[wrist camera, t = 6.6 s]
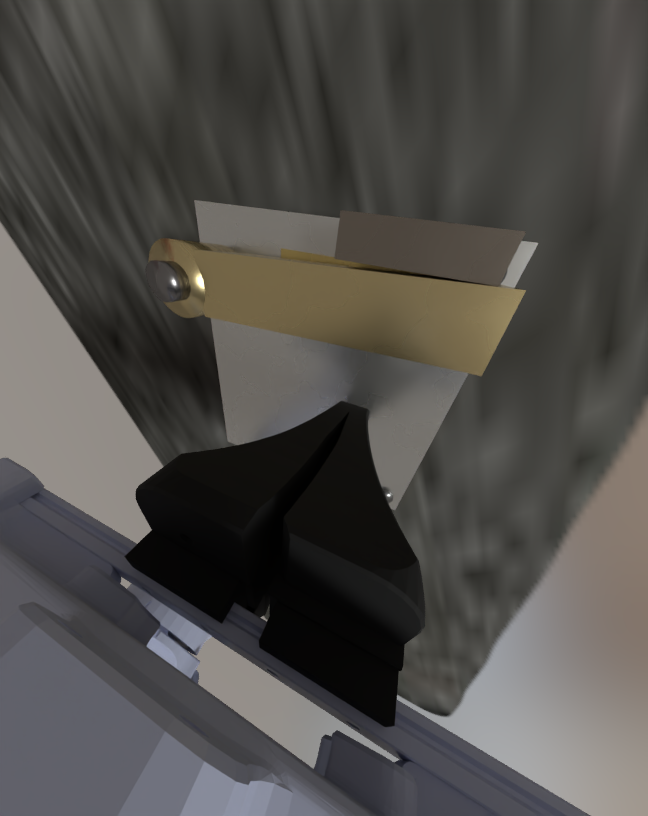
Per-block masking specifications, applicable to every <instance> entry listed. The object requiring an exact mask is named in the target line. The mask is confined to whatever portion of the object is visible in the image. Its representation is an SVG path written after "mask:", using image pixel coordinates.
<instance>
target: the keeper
mask: <svg viewBox="0 0 648 816" xmlns="http://www.w3.org/2000/svg"><path fill="white" fill-rule="evenodd" d="M525 233H526V232H524V231H516V230H507V229H498V228H490V227H481V226H473V225H464V224H455V223H447V222H438V221H429V220H421V219H412V218H403V217H395V216H386V215H378V214H369V213H360V212H352V211H343V210H341V212H340V220H339V227H338V235H337V242H336V250H335V257H331V256H325V255H319V254H313V253H307V252H301V251H295V250H289V249H283V248H281V258H288V259H296V260H304V261H312V262H321V263H329V264H337V265H346V266H354V267H362V268H370V269H379V270H387V271H395V272H404V273H412V274H420V275H428V276H437V277H445V278H451V279H457V280H462V281H468V282H474V283H480V284H486V285H492V286H498V287H499V285H500V283H501V281H502V279H503V277H504V275H505V273H506V271H507V269H508V267H509V265H510V263H511V261H512V259H513V257H514V255H515V253H516V251H517V249H518V247H519V245H520V243H521V241H522V239H523V237H524V235H525Z"/></svg>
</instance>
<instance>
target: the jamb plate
mask: <svg viewBox="0 0 648 816" xmlns="http://www.w3.org/2000/svg"><path fill="white" fill-rule="evenodd" d="M194 202H195V209H196V216H197V223H198V230H199V237H200V242H203V243H212V244H221V245H225V246H228V247H229V248H231V249H232V250H233V251H235V252H236V253H246V254H255V255H263V256H271V257H279V258H281V248H283V249H289V250H295V251H301V252H307V253H313V254H319V255H325V256H331V257H335V250H336V242H337V235H338V227H339V220H340V218H333V217H325V216H317V215H309V214H301V213H293V212H285V211H277V210H269V209H261V208H253V207H245V206H237V205H229V204H221V203H213V202H205V201H197V200H194ZM537 245H538V243H534V242H526V241H521V243H520V245H519V247H518V249H517V251H516V253H515V255H514V257H513V259H512V261H511V263H510V265H509V267H508V269H507V271H506V273H505V275H504V277H503V279H502V281H501V283H500V284H501V285H505V286H509V287H513V288H514V287H515V286H516V284H517V282H518V280H519V278H520V276H521V274H522V273H523V271H524V269H525V267H526V265H527V263H528V261H529V259H530V258H531V256H532V254H533V252H534V250H535V248H536V246H537ZM211 324H212V331H213V338H214V345H215V353H216V360H217V367H218V374H219V381H220V388H221V396H222V403H223V410H224V417H225V424H226V432H227V439H228V442H231V443H233V444H236V445H241V444H245V443H249V442H253V441H256V440H260V439H263V438H267V437H270V436H273V435H276V434H279V433H282V432H284V431H287V430H289V429H292V428H294V427H296V426H298V425H300V424H302V423H304V422H306V421H308V420H310V419H312V418H314V417H315V416H317V415H319V414H321V413H322V412H324V411H326V410H327V409H329V408H331V407H332V406H334V405H335V404H337V403H338V402H340V401H344V402H348V403H351V404H354V405H357V406H360V407H363V408H367V409H368V410H369V411H370V413H369V417H368V432H369V441H370V447H371V452H372V457H373V461H374V465H375V468H376V472H377V475H378V478H379V481H380V484H381V487H382V489H383V491H384V494H385V496H386V499H387V501H388V503H389V506H390V508H391V509H394V510H395V509H396V507H397V505H398V504H399V502H400V500H401V498H402V496H403V494H404V492H405V491H406V489H407V487H408V485H409V483H410V481H411V479H412V478H413V476H414V474H415V472H416V470H417V468H418V466H419V464H420V463H421V461H422V459H423V457H424V455H425V453H426V451H427V450H428V448H429V446H430V444H431V442H432V440H433V438H434V437H435V435H436V433H437V431H438V429H439V427H440V425H441V423H442V422H443V420H444V418H445V416H446V414H447V412H448V410H449V409H450V407H451V405H452V403H453V401H454V399H455V397H456V396H457V394H458V392H459V390H460V388H461V386H462V384H463V382H464V381H465V379H466V377H467V375H468V373H465V372H460V371H456V370H451V369H446V368H442V367H437V366H433V365H428V364H423V363H419V362H414V361H409V360H405V359H400V358H395V357H391V356H386V355H381V354H377V353H372V352H367V351H363V350H358V349H353V348H349V347H344V346H339V345H335V344H330V343H325V342H321V341H316V340H312V339H307V338H302V337H298V336H293V335H288V334H284V333H279V332H274V331H270V330H265V329H260V328H256V327H251V326H246V325H242V324H237V323H232V322H228V321H223V320H218V319H214V318H211Z"/></svg>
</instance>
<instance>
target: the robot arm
mask: <svg viewBox="0 0 648 816" xmlns="http://www.w3.org/2000/svg"><path fill="white" fill-rule="evenodd" d="M369 413H370V411H369V410H368V409H367V408H363V407H360V406H357V405H354V404H351V403H348V402H344V401H340V402H338V403H337V404H335V405H334V406H332V407H331V408H329V409H327V410H326V411H324V412H322V413H321V414H319V415H317V416H315V417H314V418H312V419H310V420H308V421H306V422H304V423H302V424H300V425H298V426H296V427H294V428H292V429H289V430H287V431H284V432H282V433H279V434H276V435H273V436H270V437H267V438H263V439H260V440H256V441H253V442H249V443H245V444H241V445H236V446H231V447H226V448H221V449H214V450H207V451H200V452H192V453H184V454H181V455H179V456H178V457H176V458H175V459H174V460H172V461H171V462H170V463H168V464H167V465H166V466H164V467H163V468H162V469H160V470H159V471H158V472H156V473H155V474H154V475H152V476H151V477H150V478H148V479H147V480H146V481H145V482H143V483H142V484H140V485H139V486H138V488H137V489H136V500H137V503H138V505H139V507H140V509H141V511H142V513H143V514H144V516H145V518H146V520H147V522H148V523H149V525H150V527H151V529H152V531H151V532H150V533H149V534H147V535H146V536H145V537H144V538H143V539H142V540H141V541H140V542H139V543H138V544H136V543H135V542H133V541H131V540H130V539H128V538H126V537H124V536H123V535H121V534H120V533H118V532H116V531H115V530H113V529H111V528H110V527H108V526H106V525H105V524H103V523H101V522H100V521H98V520H96V519H94V518H93V517H91V516H89V515H88V514H86V513H84V512H83V511H81V510H80V509H78V508H76V507H75V506H73V505H71V504H70V503H68V502H66V501H65V500H63V499H61V498H59V497H58V496H56V495H54V494H53V493H51V492H50V491H48V490H46V489H44V485H43V484H42V483H41V482H40V481H39V480H38V478H36V476H35V475H34V474H32V473H31V472H30V471H29V470H27V469H26V468H24V467H22V466H20V465H19V464H17V463H15V462H14V461H12V460H10V459H9V458H2V459H0V816H590V815H588V814H587V813H585V812H583V811H582V810H580V809H578V808H577V807H575V806H573V805H572V804H570V803H568V802H567V801H565V800H563V799H562V798H560V797H558V796H556V795H555V794H553V793H551V792H550V791H548V790H547V789H545V788H543V787H542V786H540V785H538V784H537V783H535V782H533V781H532V780H530V779H528V778H526V777H525V776H523V775H522V774H520V773H518V772H517V771H515V770H513V769H512V768H510V767H508V766H507V765H505V764H503V763H502V762H500V761H498V760H497V759H495V758H493V757H491V756H490V755H488V754H487V753H485V752H483V751H482V750H480V749H478V748H476V747H475V746H473V745H472V744H470V743H468V742H467V741H465V740H463V739H462V738H460V737H458V736H457V735H455V734H453V733H452V732H450V731H448V730H446V729H445V728H443V727H441V726H440V725H438V724H437V723H435V722H433V721H431V720H430V719H428V718H427V717H425V716H423V715H422V714H420V713H418V712H417V711H415V710H413V709H411V708H410V707H408V706H407V705H405V704H403V703H401V702H400V701H398V700H397V686H398V672H399V671H401V670H402V667H403V659H404V644H405V643H407V642H408V641H410V640H411V639H412V638H414V637H415V636H416V635H418V634H419V633H420V632H421V631H422V630H423V628H424V627H425V601H424V590H423V583H422V576H421V570H420V565H419V561H418V559H417V557H416V556H415V554H414V552H413V550H412V549H411V547H410V545H409V543H408V542H407V540H406V538H405V536H404V534H403V532H402V530H401V529H400V527H399V525H398V523H397V521H396V519H395V517H394V514H393V512H392V510H391V508H390V506H389V503H388V501H387V499H386V496H385V494H384V491H383V489H382V487H381V484H380V481H379V478H378V475H377V472H376V468H375V465H374V461H373V457H372V452H371V447H370V441H369V432H368V417H369ZM121 577H123V578H124V579H126V580H127V581H129V582H130V583H132V584H131V585H130V586H129V587H128V588H127V589H126V588H125V587H123V586H122V585H121V584H120V582H121ZM269 604H270V617H269V619H268V621H267V622H266V621H265V620H263V619H261V618H260V617H262V616H263V615H265V614H266V611H267V609H268V607H269ZM211 637H214V638H215V639H217V640H218V641H220V642H221V643H223V644H224V645H226V646H228V647H229V648H231V649H232V650H234V651H235V652H237V653H238V654H240V655H241V656H243V657H244V658H246V659H247V660H249V661H251V662H252V663H253V664H255V665H256V666H258V667H259V668H261V669H263V670H264V671H266V672H267V673H269V674H270V675H272V676H273V677H275V678H276V679H278V680H279V681H281V682H282V683H284V684H285V685H287V686H289V687H290V688H292V689H293V690H295V691H296V692H298V693H299V694H301V695H302V696H304V697H305V698H307V699H308V700H310V701H311V702H313V703H314V704H316V705H317V706H319V707H320V708H322V709H323V710H325V711H326V712H328V713H329V714H331V715H332V716H334V717H335V718H337V719H339V720H340V721H342V722H343V723H345V724H346V725H348V726H349V727H351V728H352V729H354V730H355V731H357V732H358V733H360V734H362V735H363V736H364V737H366V738H367V739H369V740H370V741H372V742H374V743H375V744H377V745H378V746H380V747H381V748H383V749H384V750H386V751H387V752H389V753H390V754H392V755H393V756H395V757H396V758H398V759H399V760H398V761H396V762H392V761H391V760H389V759H387V758H386V757H384V756H382V755H380V754H379V753H377V752H375V751H373V750H371V749H369V748H368V747H366V746H364V745H363V744H361V743H359V742H357V741H355V740H354V739H352V738H350V737H348V736H346V735H345V734H343V733H341V732H340V731H335V732H334V733H333V734H332V737H331V736H328V735H324V736H323V737H322V739H321V743H320V748H319V752H318V757H317V761H316V764H315V767H314V769H313V768H311V767H310V766H309V765H307V764H306V763H305V762H303V761H302V760H300V759H299V758H297V757H296V756H295V755H294V754H292V753H291V752H290V751H288V750H287V749H285V748H284V747H283V746H281V745H280V744H278V743H277V742H276V741H275V740H273V739H272V738H271V737H269V736H268V735H266V734H265V733H264V732H262V731H261V730H260V729H258V728H257V727H256V726H254V725H253V724H252V723H250V722H249V721H247V720H246V719H245V718H243V717H242V716H241V715H239V714H238V713H237V712H235V711H234V710H233V709H231V708H230V707H228V706H227V705H226V704H224V703H223V702H222V701H220V700H219V699H218V698H216V697H215V696H213V695H212V694H210V693H209V692H208V691H206V690H205V689H204V688H203V687H201V686H200V685H198V680H199V673H198V672H197V670H196V668H197V667H198V665H199V663H200V661H199V660H198V659H196V658H195V657H194V656H192V655H191V654H190V653H192V654H194V655H197V654H198V652H199V651H200V649H201V647H202V646H203V644H204V642H205V641H207V640H208V639H209V638H211ZM188 651H189V652H190V653H189V652H188Z"/></svg>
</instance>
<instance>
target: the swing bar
mask: <svg viewBox="0 0 648 816" xmlns="http://www.w3.org/2000/svg"><path fill="white" fill-rule="evenodd" d="M146 278H147V281H148V284H149V286H150V288H151V290H152V291H153V293H154V294H155V295H156V296H157V297H158V298H159V299H160V300H162V301H163V302H164V303H165V304H166V305H167V307H168V308H169V309H171V310H172V311H173V312H174V313H176V314H177V315H179V316H181V317H184V318H193V317H198V316H203V315H205V317H209V318H214V319H218V320H223V321H228V322H232V323H237V324H242V325H246V326H251V327H256V328H260V329H265V330H270V331H274V332H279V333H284V334H288V335H293V336H298V337H302V338H307V339H312V340H316V341H321V342H325V343H330V344H335V345H339V346H344V347H349V348H353V349H358V350H363V351H367V352H372V353H377V354H381V355H386V356H391V357H395V358H400V359H405V360H409V361H414V362H419V363H423V364H428V365H433V366H437V367H442V368H446V369H451V370H456V371H460V372H465V373H470V374H474V375H479V376H482V374H483V372H484V370H485V368H486V366H487V365H488V363H489V361H490V359H491V357H492V355H493V353H494V351H495V349H496V347H497V345H498V343H499V341H500V339H501V338H502V336H503V334H504V332H505V330H506V328H507V326H508V324H509V322H510V320H511V318H512V316H513V314H514V312H515V311H516V309H517V307H518V305H519V303H520V301H521V299H522V297H523V295H524V293H525V291H526V290H522V289H518V288H513V287H509V286H505V285H501V284H500V285H499V287H498V286H492V285H486V284H480V283H474V282H468V281H462V280H457V279H451V278H445V277H437V276H428V275H420V274H412V273H404V272H395V271H387V270H379V269H370V268H362V267H354V266H346V265H337V264H329V263H321V262H312V261H304V260H296V259H288V258H279V257H271V256H263V255H255V254H246V253H236V252H235V251H233V250H232V249H231V248H229V247H228V246H225V245H221V244H212V243H203V242H194V241H185V240H176V239H159V240H157V241H156V242H155V243H154V244H153V246H152V247H151V250H150V253H149V262H148V264H147V266H146Z"/></svg>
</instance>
